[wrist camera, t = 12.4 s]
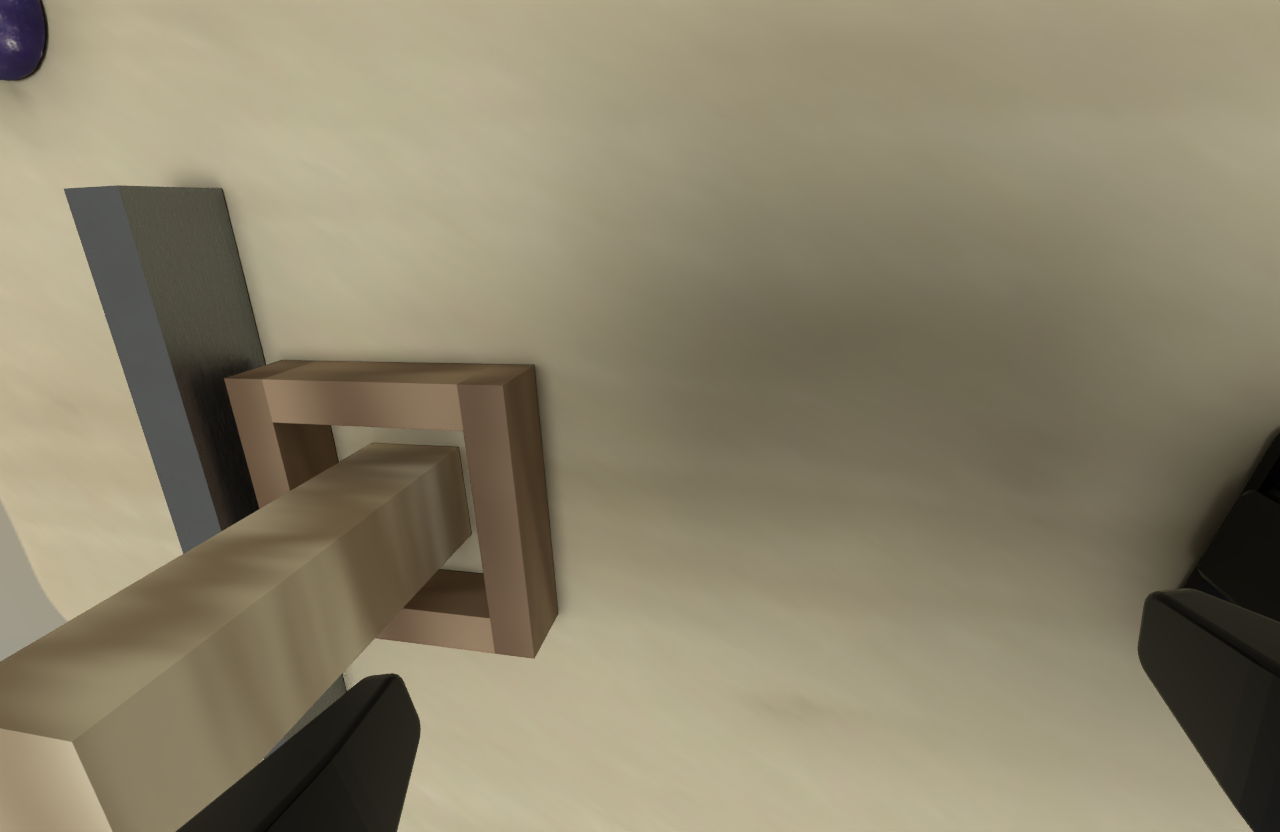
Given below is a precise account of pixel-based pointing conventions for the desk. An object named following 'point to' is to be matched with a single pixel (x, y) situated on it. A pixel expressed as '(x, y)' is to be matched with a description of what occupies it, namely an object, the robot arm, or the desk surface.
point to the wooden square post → (220, 647)
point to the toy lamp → (20, 37)
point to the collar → (498, 466)
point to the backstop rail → (180, 346)
